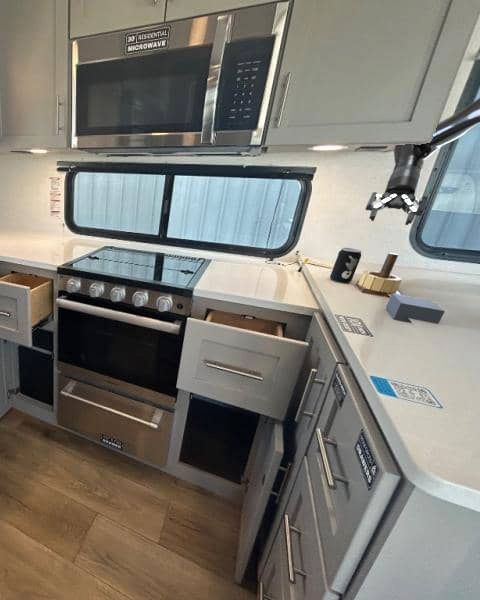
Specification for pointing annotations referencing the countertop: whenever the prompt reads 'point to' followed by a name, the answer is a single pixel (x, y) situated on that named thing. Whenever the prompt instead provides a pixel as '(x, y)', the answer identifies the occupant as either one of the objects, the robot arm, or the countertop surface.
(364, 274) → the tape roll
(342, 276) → the black printed box
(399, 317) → the block
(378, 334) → the countertop surface
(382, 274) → the stand
